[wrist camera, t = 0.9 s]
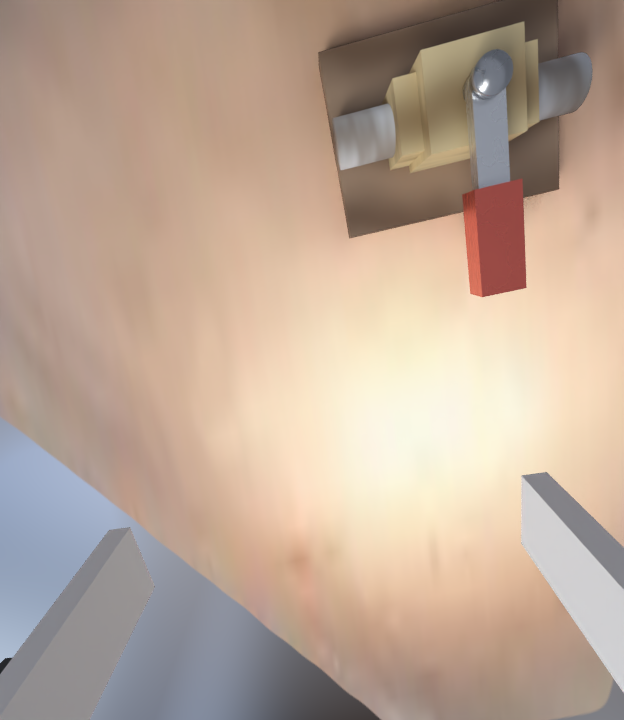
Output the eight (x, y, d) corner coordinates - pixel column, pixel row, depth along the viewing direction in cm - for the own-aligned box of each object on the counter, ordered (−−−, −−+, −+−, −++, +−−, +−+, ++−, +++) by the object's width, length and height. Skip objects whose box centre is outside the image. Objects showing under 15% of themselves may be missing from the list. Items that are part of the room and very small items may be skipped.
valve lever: (451, 76, 22) (466, 57, 20) (499, 63, 22) (519, 42, 20) (469, 293, 26) (483, 297, 24) (510, 284, 26) (528, 288, 24)
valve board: (318, 65, 29) (318, -2, 21) (540, 3, 27) (626, -94, 20) (349, 238, 33) (358, 234, 25) (544, 192, 31) (616, 174, 24)
